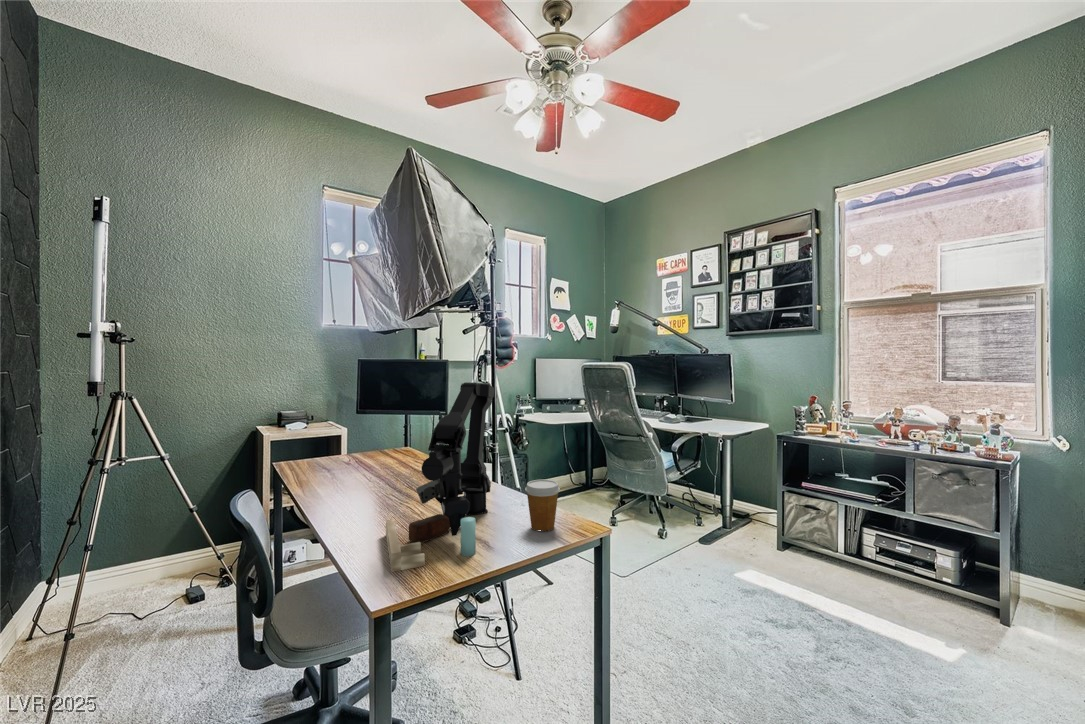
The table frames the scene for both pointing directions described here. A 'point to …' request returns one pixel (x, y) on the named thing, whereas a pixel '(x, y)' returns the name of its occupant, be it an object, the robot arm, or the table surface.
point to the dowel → (468, 536)
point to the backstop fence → (402, 551)
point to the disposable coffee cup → (542, 503)
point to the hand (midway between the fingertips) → (450, 529)
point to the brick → (428, 528)
